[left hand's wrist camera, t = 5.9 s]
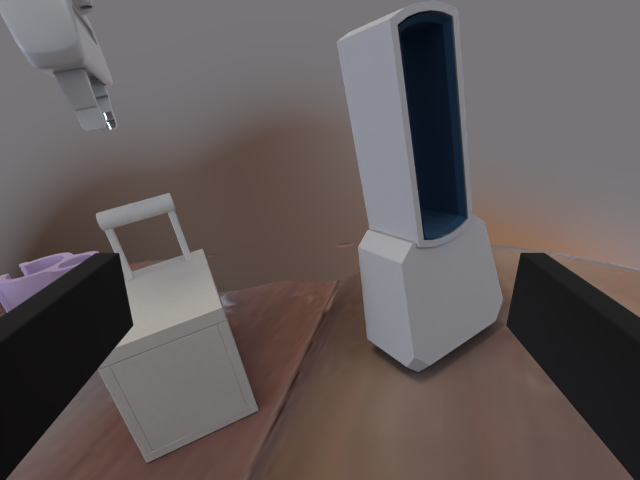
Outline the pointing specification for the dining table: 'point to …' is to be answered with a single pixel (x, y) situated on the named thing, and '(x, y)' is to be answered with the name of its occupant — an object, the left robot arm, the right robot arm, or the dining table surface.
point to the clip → (37, 277)
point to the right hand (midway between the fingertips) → (103, 129)
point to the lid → (162, 286)
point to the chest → (181, 389)
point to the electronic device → (417, 186)
